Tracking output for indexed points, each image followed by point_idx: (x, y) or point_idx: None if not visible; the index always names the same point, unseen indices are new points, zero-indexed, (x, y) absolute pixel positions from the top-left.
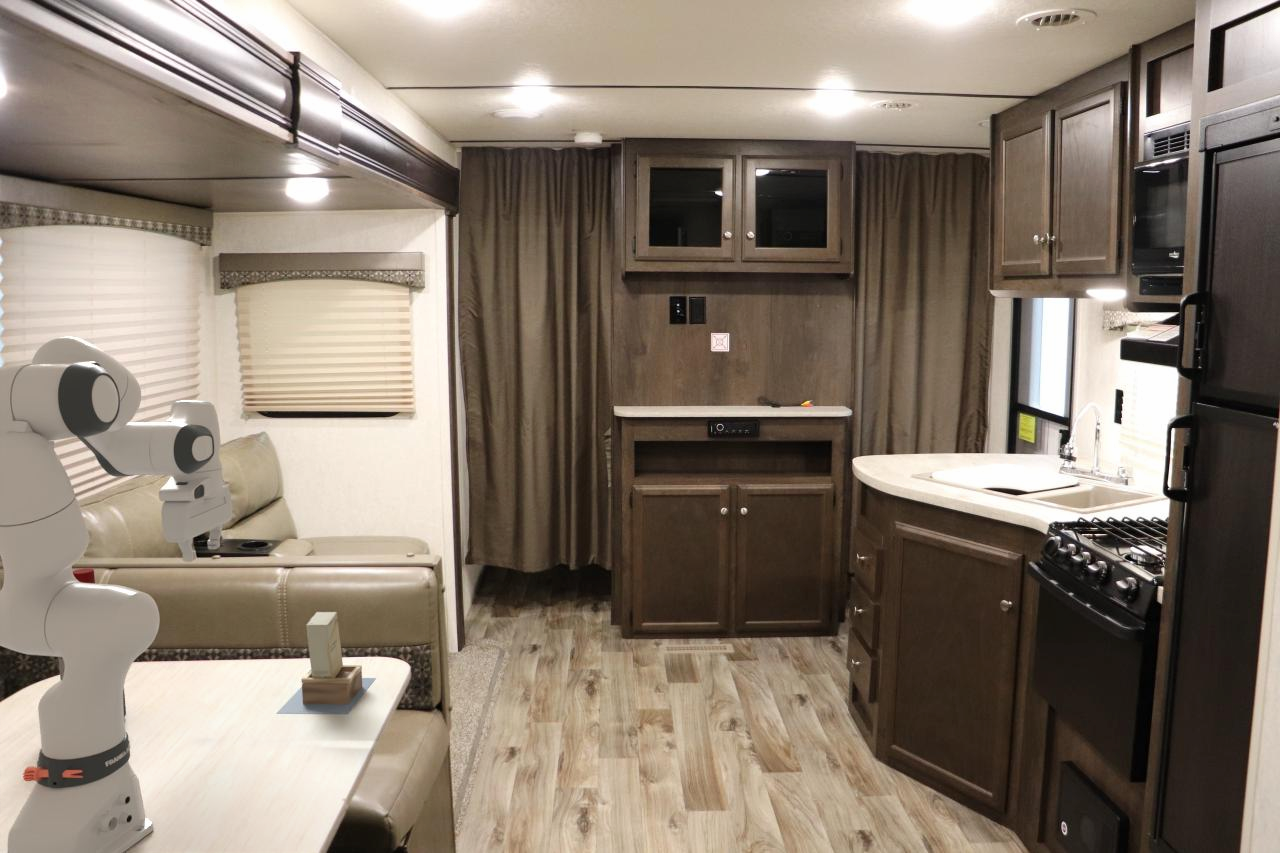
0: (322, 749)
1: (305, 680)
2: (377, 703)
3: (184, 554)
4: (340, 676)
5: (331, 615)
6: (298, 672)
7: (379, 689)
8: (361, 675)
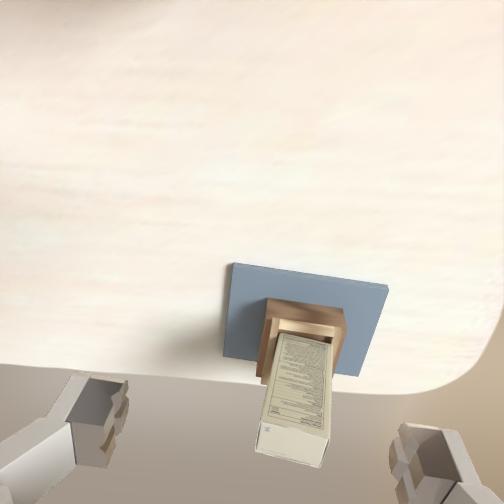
0: (130, 334)
1: (271, 326)
2: None
3: (55, 413)
4: None
5: (303, 459)
6: (446, 257)
7: None
8: None
